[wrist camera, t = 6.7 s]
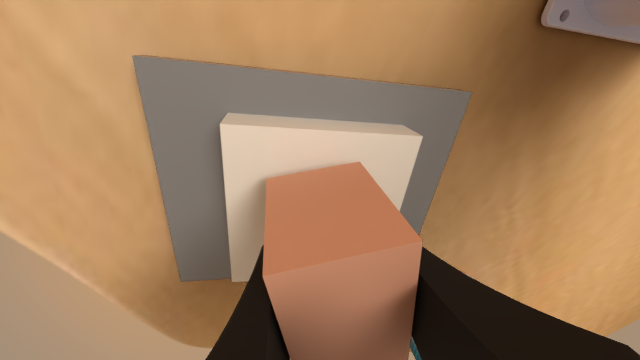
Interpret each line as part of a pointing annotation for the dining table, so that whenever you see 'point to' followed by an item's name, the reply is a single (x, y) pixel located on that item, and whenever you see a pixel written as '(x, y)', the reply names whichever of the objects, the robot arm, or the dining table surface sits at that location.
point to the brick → (339, 265)
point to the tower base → (268, 91)
